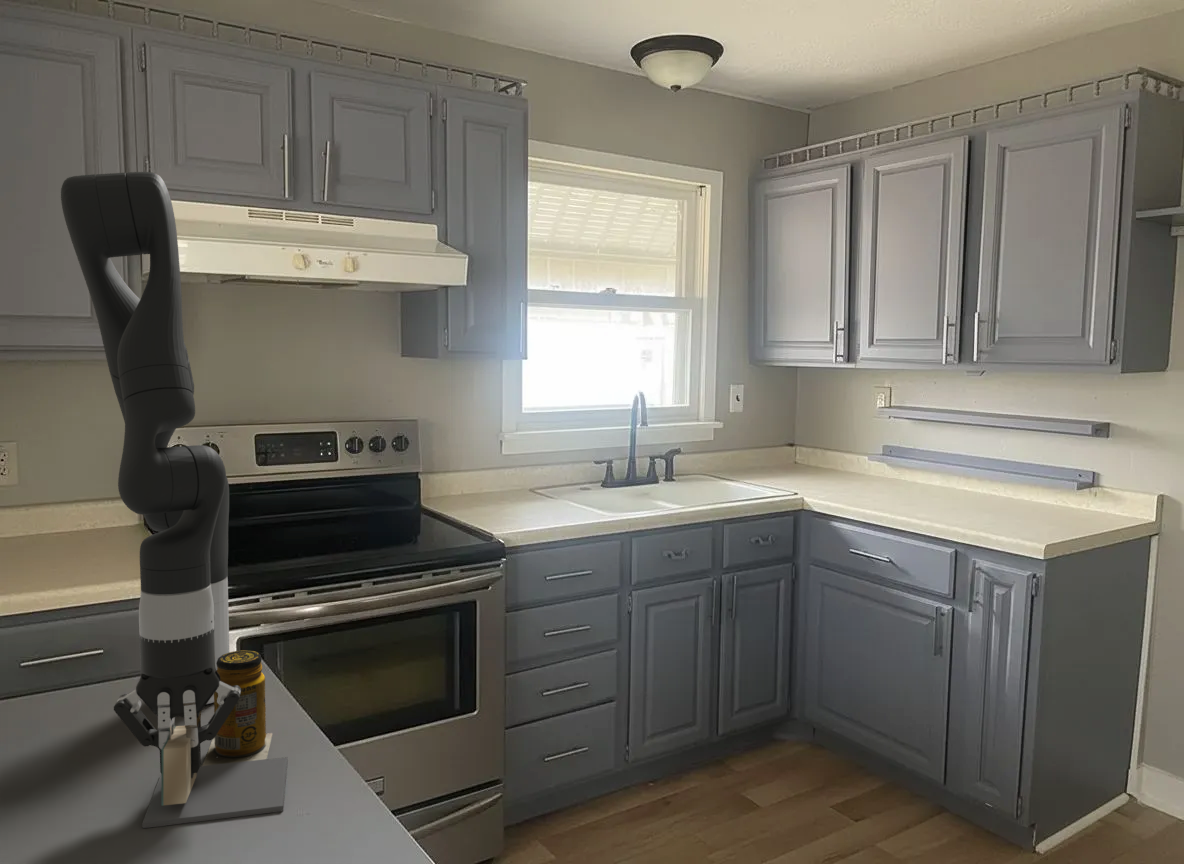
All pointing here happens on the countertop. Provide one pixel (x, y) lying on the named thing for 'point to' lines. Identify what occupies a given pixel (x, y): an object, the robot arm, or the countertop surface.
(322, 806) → the countertop surface
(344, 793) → the countertop surface
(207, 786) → the mat
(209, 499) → the robot arm
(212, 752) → the condiment
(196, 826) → the countertop surface
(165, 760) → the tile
